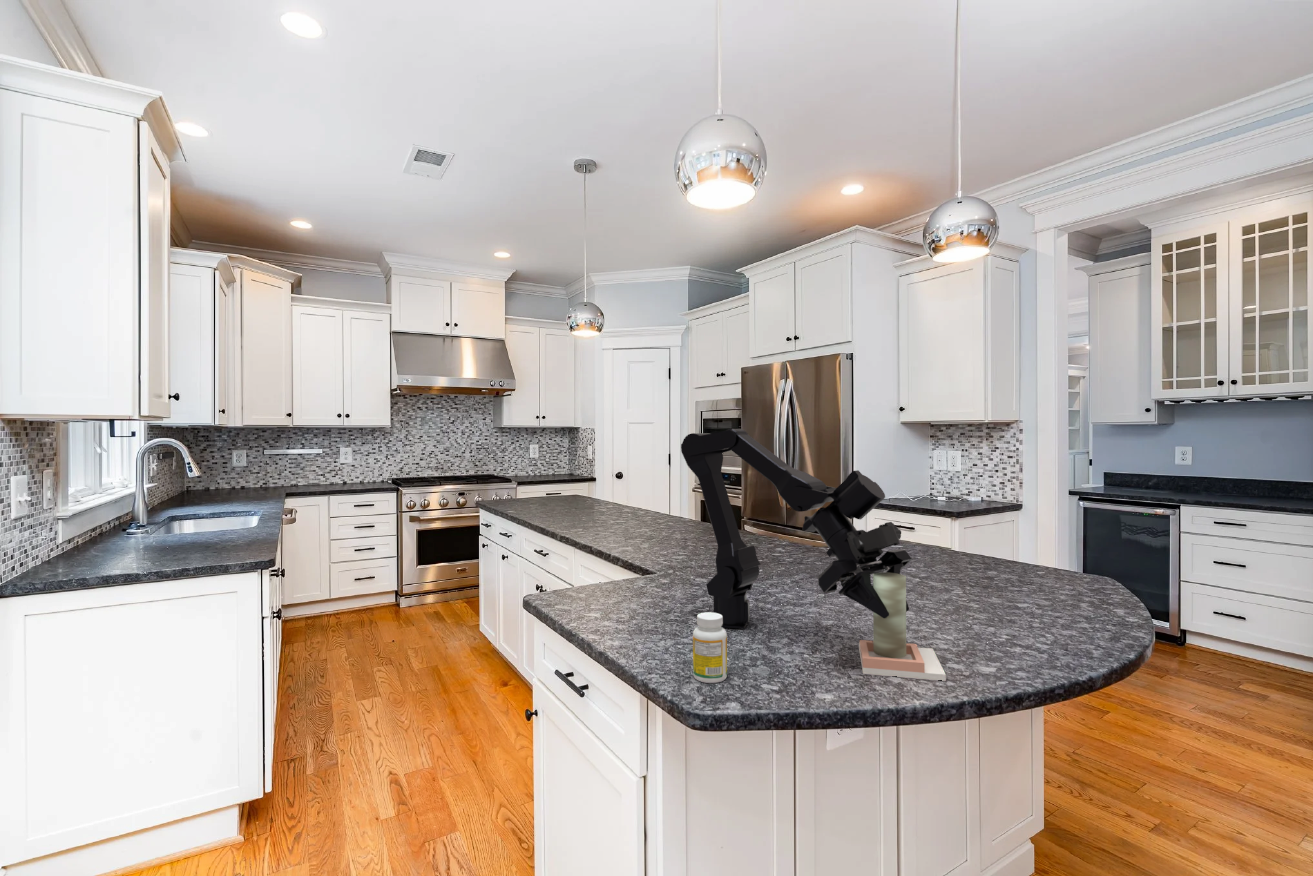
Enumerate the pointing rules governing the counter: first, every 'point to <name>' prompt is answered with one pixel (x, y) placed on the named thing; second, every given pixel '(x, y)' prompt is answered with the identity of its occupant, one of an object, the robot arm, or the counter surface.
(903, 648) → the post
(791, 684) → the counter surface
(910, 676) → the board
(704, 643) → the supplement bottle
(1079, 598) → the counter surface
